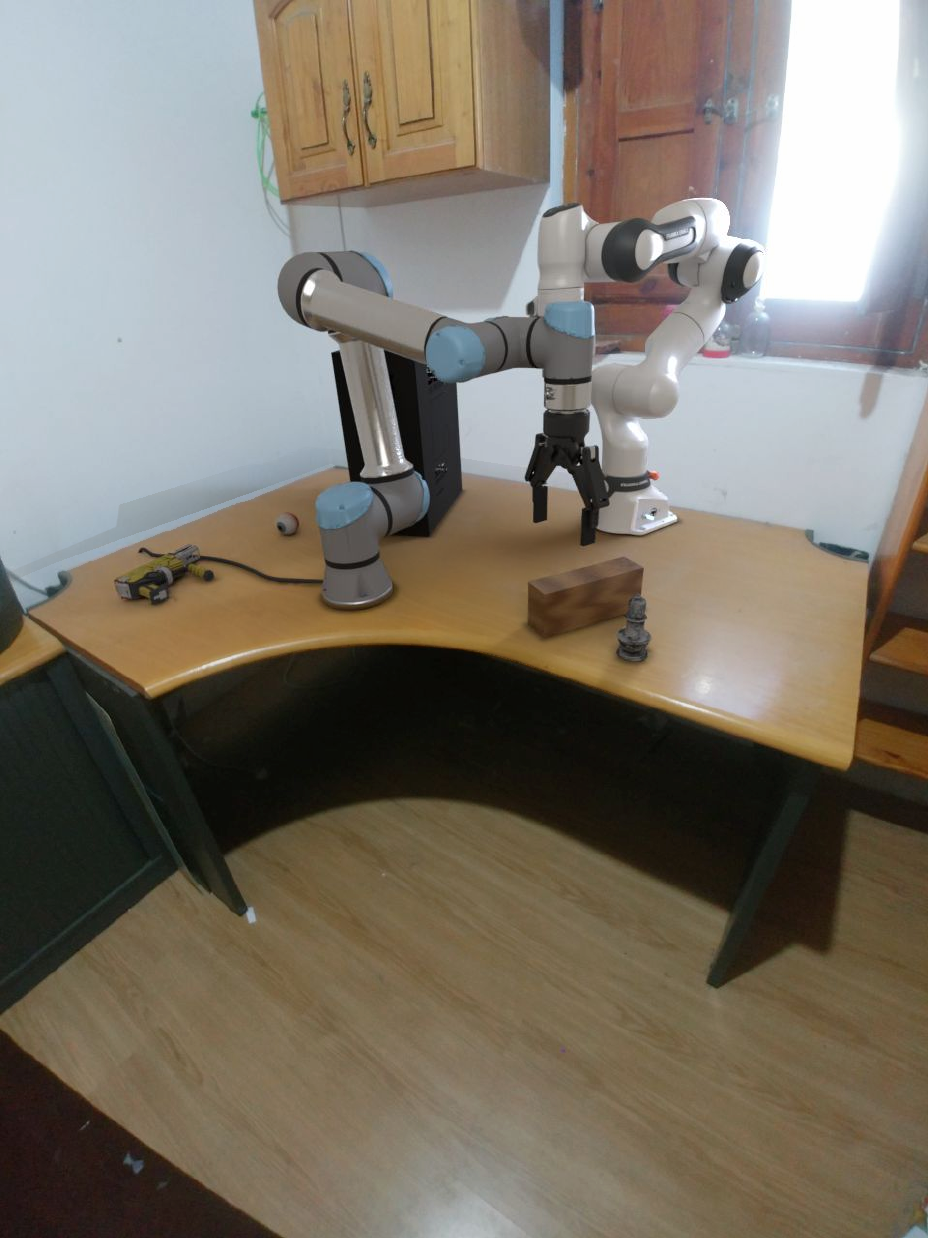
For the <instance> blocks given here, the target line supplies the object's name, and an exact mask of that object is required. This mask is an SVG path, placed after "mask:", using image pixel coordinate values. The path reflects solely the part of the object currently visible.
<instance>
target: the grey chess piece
mask: <svg viewBox="0 0 928 1238" xmlns="http://www.w3.org/2000/svg"><path fill="white" fill-rule="evenodd" d="M636 595H637V596H634V597H632V598H630V599H629V604H628V613H626V614H624V618H625V619H626V621H625V626H624V627H622V628H620V629H618V631H617V632H616V638H617V641H618V643H619V646H618V647H617V649H616V654H617V656H618V657H620V658H621V659H623V660H626V661H629V662H638V661H643V660H645V659H646V658H648V655H649V653H648V650H647V649H646V648H647V647H648V645H649V643H650V642H651V641H652V634H651V633H650V632H649V631H648V630H647V629H645V622H646V621H647V619H648V616H647V614H646V609H647V601H646V599H645V598H644V597H642V596H641V597H640V593H637V594H636Z"/></svg>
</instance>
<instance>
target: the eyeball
mask: <svg viewBox="0 0 928 1238" xmlns="http://www.w3.org/2000/svg"><path fill="white" fill-rule="evenodd" d="M299 525H300V522H299V519H298V517H297V516H296V515H295V514H294V513H292V512H287V511H286V512H282V513H280V514H279V515H278V516H277V517H276V520H275V527H276V529H277V530H278V531H279V532H280V533H281V534H282V535H285V536H286V535H287V536H289V535H293V534H295V533H296V532H297V531H298V529H299Z"/></svg>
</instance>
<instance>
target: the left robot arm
mask: <svg viewBox="0 0 928 1238" xmlns="http://www.w3.org/2000/svg"><path fill="white" fill-rule="evenodd" d="M276 289H277V295H278V299H279V303H280V304H281V307H282V308H283V310H284V311H285V313H286V314H287V316H288V317H289V318H291V319H292V320H293V321H294V322H296V323H297V324H299V325H302V326H303V327H306V328H309V329H311V330H313V331H316V332H320V333H326V332H327V334H328V337H329V338H331V339H332V340H333V341H335V342H336V343H337V345H338V350H340V353H341V358H342V363H343V367H344V372H345V376H346V381H347V385H348V390H349V394H350V399H351V403H352V408H353V412H354V417H355V421H356V426H357V431H358V435H359V440H360V444H361V449H362V453H363V458H364V462H365V467H364V468H363V470H362V471H361V473H360V477H361V481H362V482H350V481H347V482H345V483H338V484H334V485H332V486H330V487H328V488H326V489H325V490H323V491H322V492H320V493H319V495H318V496H317V498H316V499H315V505H314V507H315V514H316V515H315V520H316V524H317V525H318V526H317V527H318V532H319V537H320V542H321V548H322V553H323V559H324V564H325V567H324V573H323V579H318V578H317V579H316V578H315V579H314V578H294V577H293V578H291V577H278V576H272V575H268V574H265V573H263V572H261V571H259V570H257V569H255V568H253V567H250V566H248V565H245V564H243V563H240V562H237V561H234V560H230V559H226V558H223V557H222V558H221V557H217V556H208V555H200V559H199V560H207V561H215V562H219V563H225V564H228V565H232V566H236V567H239V568H242V569H244V570H246V571H249V572H251V573H253V574H255V575H257V576H259V577H261V578H262V579H266V580H268V581H274V582H279V583H280V582H282V583H299V584H300V583H301V584H322V586H321V596H322V600H323V602H324V604H325V605H326V606H328V607H330V608H333V609H336V610H341V611H358V610H364V609H368V608H373V607H375V606H377V605H380V604H382V603H384V602H385V601H387V600H388V599H389V598H390V597H391V596H392V595H393V593H394V588H393V580H392V578H391V577H390V576H389V573H388V571H387V569H386V567H385V565H384V562H383V561H382V559H381V552H380V545H379V541H380V540H382V539H384V538H386V537H389V536H391V535H394V534H393V533H395V532H397V531H399V530H402V529H404V528H407V527H410V526H412V525H413V524H414V523H415V522H417V521H419V520H420V519H422V518H423V516H424V515H425V514H426V512H427V510H428V507H429V501H430V495H429V489H428V486H427V484H426V482H425V480H422V476H421V475H420V474H419V473H417V472H416V471H414V468H413V464H412V463H410V462H409V461H407V460H406V459H405V458H404V453H403V448H402V443H401V437H400V432H399V427H398V422H397V417H396V411H395V406H394V401H393V396H392V390H391V385H390V380H389V375H388V370H387V364H386V359H385V354H384V350H387V351H389V352H392V353H395V354H397V355H400V356H403V357H405V358H408V359H411V360H413V361H416V362H419V363H421V364H424V365H427V367H429V369H430V373H431V372H432V373H433V374H434V375H435V376H436V378H437V379H438V380H440V381H442V382H444V384H445V383H456V382H457V384H461V383H462V384H463V383H467V382H470V381H472V380H474V379H479V378H482V377H485V376H488V375H492V374H493V375H494V374H497V373H501V372H504V371H508V370H513V369H536V370H542V368H543V369H544V378H543V407H544V408H545V409H546V410H544V412H543V414H542V415H543V416H542V419H543V420H542V432H539V433H536V434H535V437H534V447H533V449H532V453H531V456H530V459H529V462H528V465H527V467H526V471H525V474H524V481H525V482H529V484H530V485H529V486H530V487H531V489H532V490H531V494H532V496H531V499H532V523H534V524H539V523H542V522H547V521H548V501H549V500H548V494H549V492H548V491H549V487H548V486H547V484H548V479H549V478H550V477H551V475H552V474H553V472H554V470H555V469H556V468H557V467H561V468H562V469H564V470H566V471H567V473H568V474H569V475H571V477H572V479H573V482H574V483H575V484H574V485H575V487H576V488H577V491H578V493H579V496H580V498H581V500H582V502H583V504H584V507H583V508H581V519H580V537H579V538H580V539H579V546H581V547H583V548H584V547H586V546H590V545H593V544H596V537H597V528H596V527H597V526H598V522H599V510H600V508H604V507H607V506H609V505H610V502H609V498H608V494H607V490H606V486H605V482H604V478H603V474H602V470H601V468H602V465H601V461H600V448H599V446H598V445H597V444H595V445H589V446H588V445H586V442H585V438H586V436H587V435H588V434H589V432H590V424H591V423H590V422H591V412H590V410H589V408H590V407H591V406H592V404H591V389H592V371H593V359H594V357H593V345H594V337H595V338H596V330H595V331H594V326H595V308H594V305H593V303H591V301H587V300H584V301H571V302H570V301H569V302H567V301H566V302H554V303H549V304H547V305H546V307H545V312H544V316H543V317H529V316H509V315H502V316H495V317H488V318H486V319H484V320H483V321H478V322H477V321H476V322H466V321H462V320H458V319H455V318H452V317H448V316H447V315H444V314H441V313H438V312H435V311H432V310H429V309H426V308H422V307H419V306H416V305H414V304H410V303H408V302H404V301H401V300H398V299H395V298H394V289H393V283H392V279H391V277H390V275H389V272H388V270H387V268H386V267H385V265H384V264H383V263H382V262H381V261H380V260H379V259H378V258H377V257H376V256H374V255H373V254H371V253H369V252H365V251H358V250H352V249H350V250H337V251H335V250H334V251H315V252H314V251H305V252H302V253H297V254H295V255H293V256H292V257H290V258H289V259H288V260H287V261H286V262H285V263H284V265H283V266H282V268H281V269H280V271H279V275H278V278H277V287H276ZM429 369H428V370H429ZM601 499H602V500H601ZM143 552H144V553H145V554H147V555H148V556H151V557H153V558H160V557H162V556H164V555H166V554H167V553H155V552H152V551H150V550H149V549H147V548H146V547H140V548H139V550H138V552H137V553H138V554H141V553H143ZM194 556H196V557H197V556H199V554H193V558H195V557H194ZM190 557H192V555H191V556H190Z"/></svg>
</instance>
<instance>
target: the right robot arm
mask: <svg viewBox="0 0 928 1238" xmlns="http://www.w3.org/2000/svg"><path fill="white" fill-rule="evenodd" d="M729 226H730V214H729V211H728V209H727V207H726V205H725V204H724V203H723V202H722V201H720V200H717V199H715V198H708V197H698V198H697V197H696V198H688V199H683V200H679V201H675V202H673V203H670V204H668V205H666V206H664V207H662V208H660V209H659V210H658V211H656V212H655V214H654V215H653V217H652V218H651V221H650V220H648V219H646V218H643V217H635V218H630V219H625V220H623V221H622V220H621V221H614V222H613V221H612V222H606V223H599V222H598V221H597V220H594V219H593V218H591V217H590V216H589V215H588V214H587V213H586V212H585V210H584V206H583V205H582V204H581V203H579V202H570V203H566V204H565V203H564V204H563V205H557V206H553V207H551V208H548V209H547V210H545V212H543V213H542V215H541V218H540V221H539V225H538V234H537V252H536V253H537V257H536V258H537V268H538V272H539V280H538V284H537V295H535V297H534V298H532V299H531V300H530V301H528V302H527V303H526V304H525V315H526V316H527V317H543V316H544V312H545V307H546V305H547V304H549V303H554V302H566V301H567V302H569V301H570V302H571V301H585V283H618V282H619V283H627V284H634V283H638V282H640V281H641V280H643V279H644V278H645V277H647V276H648V274H649V273H651V272H652V270H654V269H655V268H656V267H657V266H658V265H660V264H666V268H667V274H668V277H669V279H670V281H671V282H673V283H674V284H676V285H678V286H680V287H687V288H690V289H691V290H690V292H689V294H688V296H687V297H686V298H685V299H684V300H683V301H682V302H681V303H680V304H679V305H678V306H676V307H675V308H674V309H673V310H672V311H671V312H670V313H669V314H668V315H667V316H666V318H665V319H664V320H663V321H662V322H660V324H659V325H658V326H657V327H656V328H655V329H654V330H653V331H652V333H650V335H648V337H647V339H646V340H645V344H644V351H645V352H644V353H645V354H644V355H645V358H644V360H643V361H642V362H640V363H638V364H636V365H632V364H624V363H616V362H615V363H607V364H603V365H598V366H597V367H594V369H592V389H591V406H592V407H593V410H594V412H595V414H596V417H597V420H598V425H599V428H600V434H601V441H602V442H601V443H602V444H601V445H602V447H601V470H602V474H603V478H604V482H605V486H606V490H607V494H608V498H609V502H610V505H609V506H607V507H604V508H600V510H599V522H598V526H597V527H596V530H599V531H601V532H605V533H611V534H623V535H625V534H626V535H632V536H633V535H634V536H645V535H646V534H650V533H652V532H654V531H657V530H660V529H662V528H665V527H668V526H670V525H672V524H675V523H677V522H678V516H677V515H676V514H675V513H674V512H672V511H670V503H669V502H670V501H669V498H668V497H667V496H666V495H665V494H664V493H663V492H662V491H661V490H660V489H658V488H656V487H655V486H654V485H652V483H651V480H653V481H658V479H659V478H660V473H659V472H657V471H654V470H651V471H649V470H648V469H647V466H648V458H649V457H648V455H649V447H650V442H649V437H648V435H647V434H646V433H645V431H643V428H642V427H641V425H640V422H639V419H642V420H655V419H663V418H665V417H667V416H669V415H670V414H671V413H672V412H673V411H674V410H675V408H676V406H677V404H678V403H679V399H680V394H681V389H680V383H679V380H678V379H679V377H680V374H681V373H682V371H683V370H684V368H686V366H687V365H688V364H689V363H690V361H692V359H693V358H694V357H695V356H696V354H697V353H698V352H699V351H700V350H701V349H702V348H703V347H704V346H705V345H706V343H707V342H708V341H709V340H710V339H711V337H712V336H713V335H714V333H715V332H716V330H717V329H718V328H719V326H720V324H721V322H722V321H723V319H724V318H725V315H726V305H732V304H735V303H737V302H739V300H741V298H742V297H743V296H745V295H746V294H747V293H749V292H750V291H751V290H752V289H753V288H754V287H755V286H756V284H757V283H758V282H759V280H760V279H761V277H762V275H763V272H764V269H765V264H766V255H765V254H766V253H765V250H764V247H763V246H762V245H761V244H759V243H758V242H757V241H754V240H751V239H748V238H747V239H741V238H738V237H733V236H729V235H727V233H728V230H729ZM594 331H595V332H596V327H595V325H594ZM595 356H596V336H595V337H594V345H593V358H594V357H595ZM541 377H542V378H543V379H544V369H543V368H542V369H541ZM601 500H602V499H601Z"/></svg>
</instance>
